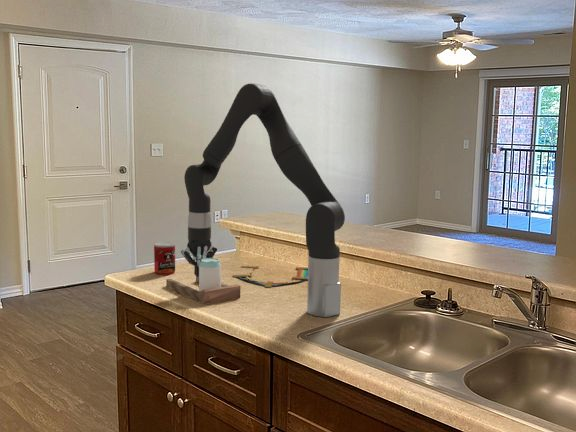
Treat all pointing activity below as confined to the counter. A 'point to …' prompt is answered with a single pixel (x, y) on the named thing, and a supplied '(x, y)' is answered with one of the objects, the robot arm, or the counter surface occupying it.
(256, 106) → the robot arm
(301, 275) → the ribbon cable
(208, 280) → the can
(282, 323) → the counter surface
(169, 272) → the canned food
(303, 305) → the counter surface
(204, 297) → the channel
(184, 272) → the counter surface
